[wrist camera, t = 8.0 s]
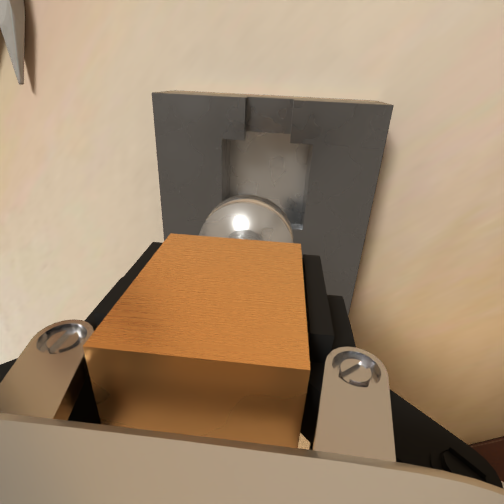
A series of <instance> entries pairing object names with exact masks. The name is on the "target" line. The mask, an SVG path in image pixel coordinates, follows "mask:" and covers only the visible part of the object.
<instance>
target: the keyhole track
mask: <svg viewBox="0 0 504 504" xmlns="http://www.w3.org/2000/svg"><path fill="white" fill-rule="evenodd" d="M152 101H153V113H154V125H155V136H156V148H157V160H158V172H159V184H160V195H161V207H162V219H163V231H164V241H165V240H166V239H167V237H168V236H169V235H170V233H172V234H185V235H197V236H199V234H200V231H201V228H202V226H203V224H204V223H205V221H206V219H207V218H208V216H209V214H210V213H211V211H212V210H213V209H214V208H215V207H216V206H217V205H218V204H219V203H221V202H222V201H224V200H226V199H228V198H230V197H233V196H237V195H256V196H260V197H263V198H266V199H268V200H270V201H272V202H273V203H275V204H276V205H277V206H278V207H279V208H281V209H282V210H283V212H284V213H285V214H286V216H287V218H288V219H289V221H290V224H291V227H292V232H293V243H297V244H301V252H302V257H303V254H306V255H318V256H320V259H321V264H322V270H323V275H324V281H325V287H326V292H327V295H337V296H342V297H343V299H344V302H345V306H346V310H347V314H349V310H350V305H351V301H352V296H353V291H354V287H355V282H356V277H357V273H358V268H359V263H360V259H361V254H362V249H363V245H364V240H365V236H366V231H367V226H368V222H369V217H370V212H371V208H372V203H373V198H374V194H375V189H376V184H377V180H378V175H379V170H380V166H381V161H382V157H383V152H384V147H385V143H386V138H387V133H388V129H389V124H390V119H391V115H392V110H393V105H391V104H387V103H383V102H379V101H371V100H352V99H332V98H313V97H293V96H274V95H254V94H235V93H215V92H195V91H176V90H174V91H164V92H153V93H152Z"/></svg>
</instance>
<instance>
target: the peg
mask: <svg viewBox="0 0 504 504" xmlns="http://www.w3.org/2000/svg"><path fill="white" fill-rule="evenodd" d="M83 350H84V354H85V358H86V363H87V367H88V371H89V375H90V379H91V383H92V387H93V392H94V396H95V400H96V404H97V408H98V412H99V417H100V421H101V424H102V425H110V426H119V427H127V428H135V429H144V430H152V431H161V432H169V433H177V434H185V435H194V436H202V437H210V438H219V439H227V440H235V441H243V442H251V443H258V444H266V445H274V446H282V447H290V448H298V442H299V436H300V430H301V424H302V418H303V412H304V406H305V400H306V394H307V388H308V382H309V376H310V358H309V345H308V331H307V318H306V305H305V292H304V278H303V265H302V252H301V244H297V243H293V232H292V227H291V224H290V221H289V219H288V218H287V216H286V214H285V213H284V212H283V210H282V209H281V208H279V207H278V206H277V205H276V204H275V203H273V202H272V201H270V200H268V199H266V198H263V197H260V196H256V195H237V196H233V197H230V198H228V199H226V200H224V201H222V202H221V203H219V204H218V205H217V206H216V207H215V208H214V209H213V210H212V211H211V213H210V214H209V216H208V218H207V219H206V221H205V223H204V224H203V226H202V228H201V231H200V234H199V236H197V235H185V234H172V233H170V235H169V236H168V237H167V239H166V240H165V241H164V242H163V244H162V245H161V246H160V248H159V249H158V250H157V251H156V253H155V254H154V255H153V256H152V258H151V259H150V260H149V262H148V263H147V264H146V265H145V267H144V268H143V269H142V271H141V272H140V273H139V274H138V276H137V277H136V278H135V280H134V281H133V282H132V283H131V285H130V286H129V287H128V289H127V290H126V291H125V292H124V294H123V295H122V296H121V298H120V299H119V300H118V301H117V303H116V304H115V305H114V307H113V308H112V309H111V310H110V312H109V313H108V314H107V316H106V317H105V318H104V319H103V321H102V322H101V323H100V325H99V326H98V327H97V328H96V330H95V331H94V332H93V334H92V335H91V336H90V337H89V339H88V340H87V341H86V343H85V344H84V345H83Z"/></svg>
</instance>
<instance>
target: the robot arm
mask: <svg viewBox="0 0 504 504" xmlns="http://www.w3.org/2000/svg"><path fill="white" fill-rule="evenodd" d="M162 244H163V243H159V242H153V243H152V244H151V245H150V246H149V247H148V249H147V250H146V251H145V252H144V253H143V254H142V256H141V257H140V258H139V259H138V260H137V262H136V263H135V264H134V265H133V266H132V268H131V269H130V270H129V271H128V272H127V273H126V275H125V276H124V277H122V278H121V279H120V280H119V281H118V282H117V283H116V285H115V286H114V287H113V288H112V289H111V290H110V292H109V293H108V294H107V295H106V296H105V297H104V299H103V300H102V301H101V302H100V303H99V304H98V306H97V307H96V308H95V309H94V310H93V312H92V313H91V314H90V315H89V316H88V317H87V319H86V320H85V321H82V320H65V321H61V322H57V323H54V324H52V325H50V326H47V327H45V328H44V329H42V330H41V331H39V332H38V333H37V334H36V335H35V336H34V337H33V338H32V339H31V341H30V342H29V343H28V345H27V346H26V348H25V349H24V351H23V352H22V353H21V355H20V356H19V358H17V359H14V360H12V361H9V362H6V363H4V364H1V365H0V504H504V482H502V481H501V480H500V478H499V476H498V475H497V473H496V471H495V470H494V468H493V467H492V466H491V465H490V464H489V462H488V461H487V460H486V459H485V458H484V457H483V456H481V455H480V454H479V453H478V452H477V451H476V450H474V449H473V448H471V447H470V446H469V445H467V444H466V443H464V442H463V441H462V440H460V439H459V438H457V437H456V436H455V435H453V434H452V433H450V432H449V431H448V430H446V429H445V428H443V427H442V426H441V425H439V424H438V423H436V422H435V421H434V420H432V419H431V418H429V417H428V416H427V415H425V414H424V413H422V412H421V411H420V410H418V409H417V408H415V407H414V406H413V405H411V404H410V403H408V402H407V401H405V400H404V399H403V398H401V397H400V396H398V395H397V394H396V393H394V392H393V391H391V390H390V389H389V378H388V373H387V370H386V367H385V366H384V365H383V363H382V362H381V361H380V360H379V359H378V358H377V357H376V356H374V355H373V354H371V353H369V352H367V351H365V350H362V349H359V348H356V346H355V342H354V338H353V334H352V330H351V326H350V322H349V318H348V314H347V310H346V306H345V302H344V299H343V297H342V296H337V295H327V292H326V287H325V281H324V275H323V270H322V264H321V259H320V256H318V255H306V254H303V257H302V265H303V278H304V292H305V305H306V318H307V331H308V345H309V358H310V376H309V382H308V388H307V394H306V400H305V406H304V412H303V418H302V424H301V430H300V433H301V434H302V435H303V436H304V437H305V438H306V439H307V440H308V441H309V442H310V445H309V450H306V449H298V448H290V447H282V446H274V445H266V444H258V443H251V442H243V441H235V440H227V439H219V438H210V437H202V436H194V435H185V434H177V433H169V432H161V431H152V430H144V429H135V428H127V427H119V426H110V425H102V424H101V421H100V417H99V412H98V408H97V404H96V400H95V396H94V392H93V387H92V383H91V379H90V375H89V371H88V367H87V363H86V358H85V354H84V350H83V345H84V344H85V343H86V341H87V340H88V339H89V337H90V336H91V335H92V334H93V332H94V331H95V330H96V328H97V327H98V326H99V325H100V323H101V322H102V321H103V319H104V318H105V317H106V316H107V314H108V313H109V312H110V310H111V309H112V308H113V307H114V305H115V304H116V303H117V301H118V300H119V299H120V298H121V296H122V295H123V294H124V292H125V291H126V290H127V289H128V287H129V286H130V285H131V283H132V282H133V281H134V280H135V278H136V277H137V276H138V274H139V273H140V272H141V271H142V269H143V268H144V267H145V265H146V264H147V263H148V262H149V260H150V259H151V258H152V256H153V255H154V254H155V253H156V251H157V250H158V249H159V248H160V246H161V245H162Z"/></svg>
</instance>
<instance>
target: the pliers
mask: <svg viewBox="0 0 504 504" xmlns="http://www.w3.org/2000/svg"><path fill="white" fill-rule="evenodd" d="M0 28H1V31H2V34H3V37H4V40H5V43H6V46H7V49H8V52H9V55H10V58H11V61H12V64H13V67H14V70H15V74H16V77H17V80H18V83H19V84H24V39H25V7H24V0H0Z"/></svg>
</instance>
